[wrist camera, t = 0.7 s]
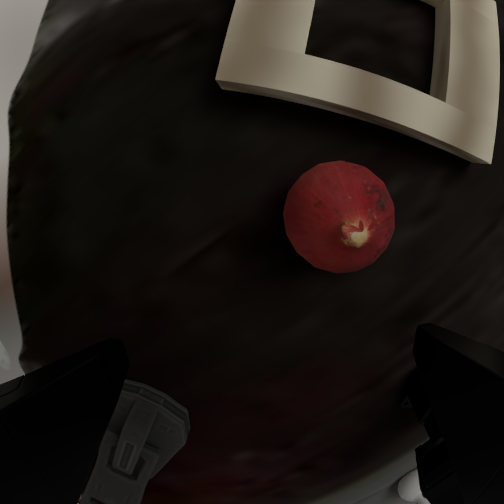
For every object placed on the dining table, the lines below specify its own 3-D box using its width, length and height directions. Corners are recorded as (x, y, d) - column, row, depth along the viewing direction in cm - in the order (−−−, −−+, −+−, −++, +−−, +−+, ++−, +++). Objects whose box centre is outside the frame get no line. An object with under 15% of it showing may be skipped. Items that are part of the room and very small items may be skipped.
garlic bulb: (412, 460, 27) (423, 510, 20) (448, 459, 27) (463, 504, 19) (387, 486, 29) (394, 532, 22) (423, 485, 29) (433, 527, 21)
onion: (344, 144, 18) (390, 136, 11) (384, 223, 19) (442, 260, 12) (265, 189, 19) (260, 208, 12) (309, 265, 21) (328, 326, 13)
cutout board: (480, 11, 13) (495, 2, 11) (471, 162, 18) (491, 164, 15) (264, -63, 14) (262, -82, 11) (222, 89, 18) (215, 79, 15)
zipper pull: (75, 503, 25) (77, 412, 18) (91, 471, 32) (111, 365, 25) (136, 531, 26) (186, 464, 19) (148, 497, 32) (201, 407, 25)
